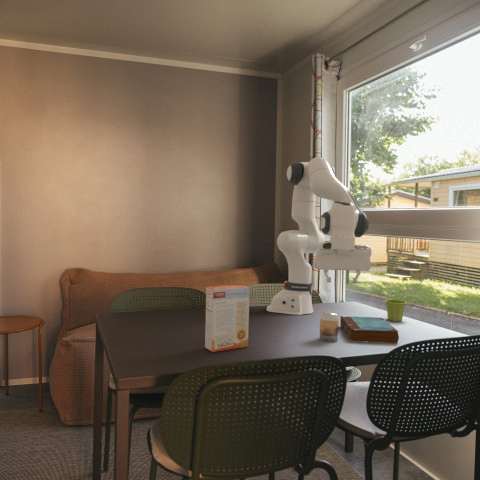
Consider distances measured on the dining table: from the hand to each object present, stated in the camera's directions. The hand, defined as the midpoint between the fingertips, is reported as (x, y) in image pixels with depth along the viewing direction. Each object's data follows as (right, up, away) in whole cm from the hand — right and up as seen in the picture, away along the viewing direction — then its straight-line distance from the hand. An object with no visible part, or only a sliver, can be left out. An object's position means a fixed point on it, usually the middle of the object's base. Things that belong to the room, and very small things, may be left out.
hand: (341, 282), depth 165 cm
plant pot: (+33, -21, +40) cm, 57 cm away
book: (+13, -22, +12) cm, 28 cm away
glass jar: (-4, -22, +2) cm, 22 cm away
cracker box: (-42, -21, -13) cm, 49 cm away
